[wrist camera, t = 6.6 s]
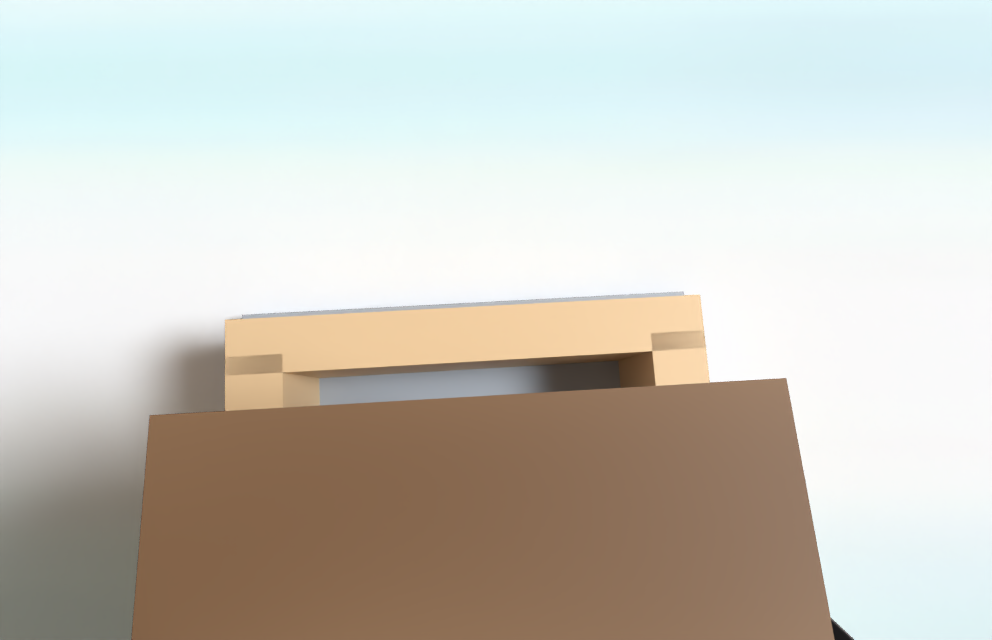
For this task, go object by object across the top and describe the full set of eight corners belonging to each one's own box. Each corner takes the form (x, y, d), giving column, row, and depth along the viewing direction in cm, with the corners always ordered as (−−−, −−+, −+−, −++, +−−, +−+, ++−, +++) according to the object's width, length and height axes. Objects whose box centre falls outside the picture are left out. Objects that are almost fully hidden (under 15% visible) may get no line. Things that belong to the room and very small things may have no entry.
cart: (613, 650, 14) (1040, 1219, 3) (357, 671, 14) (-41, 1362, 3) (591, 433, 15) (856, 362, 5) (357, 448, 15) (70, 407, 4)
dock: (718, 701, 15) (794, 793, 12) (251, 742, 15) (180, 853, 11) (675, 295, 17) (731, 266, 13) (250, 318, 16) (187, 294, 12)
